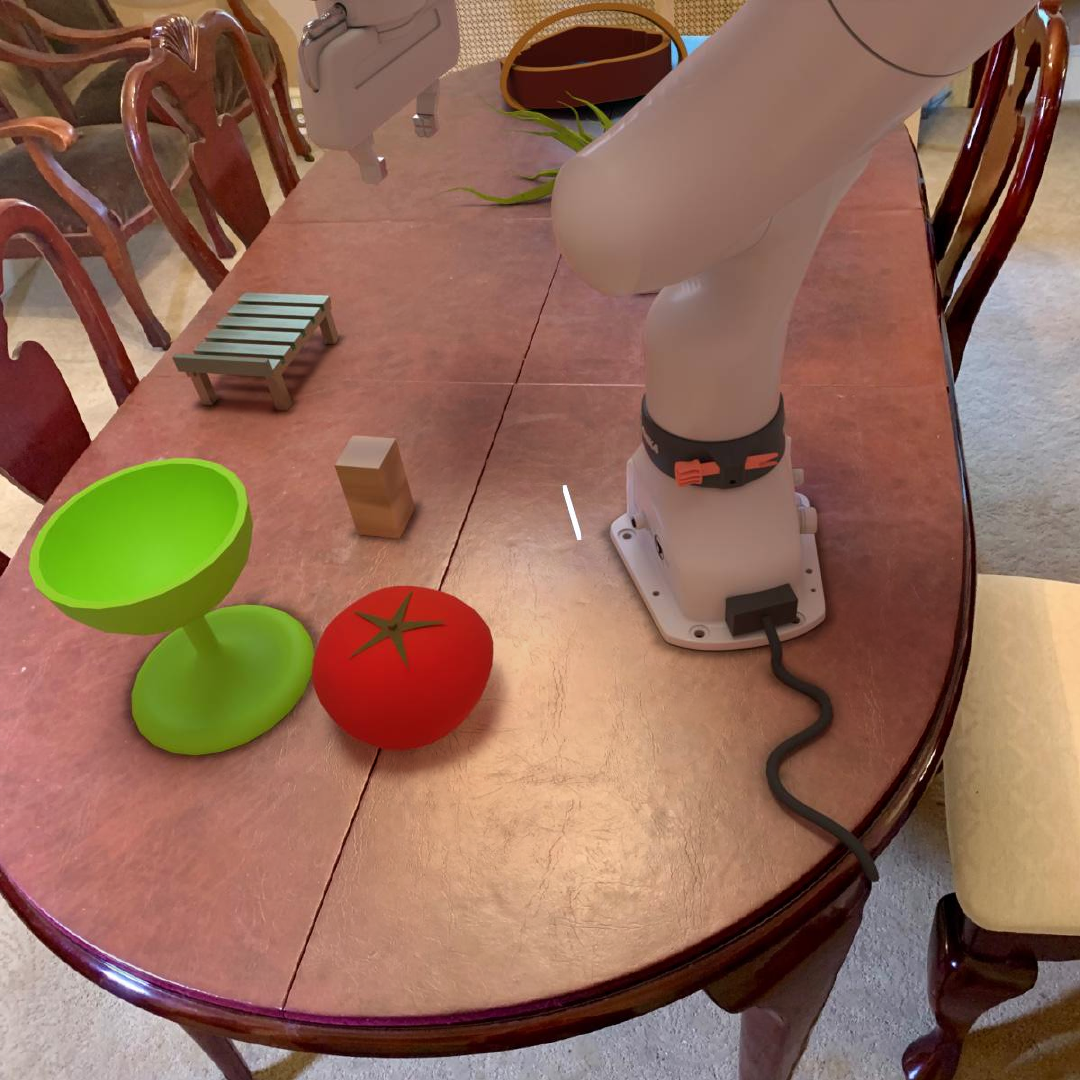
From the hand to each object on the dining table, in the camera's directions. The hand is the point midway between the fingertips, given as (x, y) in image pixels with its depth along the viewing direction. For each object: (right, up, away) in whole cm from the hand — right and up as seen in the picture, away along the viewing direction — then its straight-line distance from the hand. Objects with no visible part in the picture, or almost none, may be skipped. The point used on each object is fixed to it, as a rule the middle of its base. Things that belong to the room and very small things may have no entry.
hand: (402, 156), depth 84 cm
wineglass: (-15, -46, -2) cm, 49 cm away
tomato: (+2, -48, -7) cm, 49 cm away
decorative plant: (+13, +18, +59) cm, 63 cm away
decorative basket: (+22, +47, +87) cm, 102 cm away
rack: (-21, -13, +32) cm, 40 cm away
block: (-3, -33, +10) cm, 34 cm away
